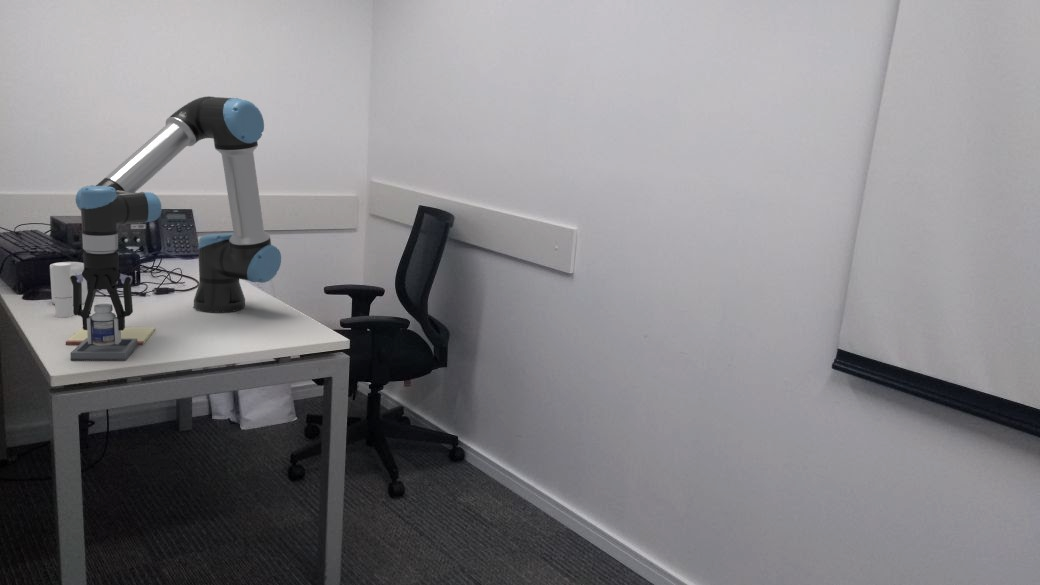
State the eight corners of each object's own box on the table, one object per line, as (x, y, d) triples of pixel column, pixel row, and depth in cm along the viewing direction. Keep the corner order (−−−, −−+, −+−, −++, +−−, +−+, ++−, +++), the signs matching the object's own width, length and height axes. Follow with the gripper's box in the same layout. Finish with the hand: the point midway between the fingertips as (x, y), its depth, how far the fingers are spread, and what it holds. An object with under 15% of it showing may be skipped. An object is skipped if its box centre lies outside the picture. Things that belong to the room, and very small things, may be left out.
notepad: (155, 330, 214) (154, 327, 214) (142, 345, 201) (142, 342, 201) (83, 329, 210) (83, 326, 210) (65, 344, 197) (65, 341, 197)
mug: (46, 306, 229) (44, 267, 227) (62, 296, 241) (60, 259, 238) (81, 307, 231) (79, 268, 229) (95, 297, 243) (93, 260, 240)
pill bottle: (98, 339, 195) (96, 302, 193) (120, 340, 196) (119, 303, 193) (88, 346, 190) (86, 307, 188) (111, 347, 190) (109, 308, 188)
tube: (65, 318, 219) (62, 266, 216) (52, 316, 220) (48, 264, 216) (76, 314, 223) (73, 263, 220) (63, 312, 224) (60, 262, 221)
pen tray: (137, 346, 200) (137, 338, 200) (125, 360, 189) (124, 353, 188) (86, 345, 198) (86, 338, 197) (70, 360, 186) (70, 352, 186)
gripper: (145, 249, 193) (148, 338, 198) (64, 246, 189) (69, 337, 194) (138, 254, 186) (141, 347, 191) (53, 252, 182) (58, 346, 187)
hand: (104, 342), depth 193 cm, fingers closed on pill bottle, 5 cm apart
